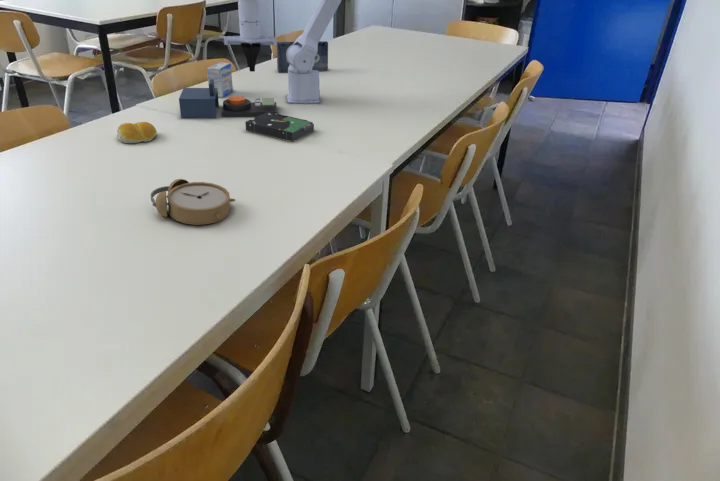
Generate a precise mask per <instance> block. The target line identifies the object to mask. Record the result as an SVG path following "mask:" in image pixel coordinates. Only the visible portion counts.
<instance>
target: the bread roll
mask: <svg viewBox="0 0 720 481" xmlns="http://www.w3.org/2000/svg"><path fill="white" fill-rule="evenodd" d="M116 132H117V134H116V137H117V139H118V140H119V141H120V142H121V143H124V144H137V143H141V142H144V143H147V142H150V141H152V140H154V138H156V136H157V134H158V132H157V129H156V127H155V126H154V125H153V124H152V123H150V122H148V121H138V122H135V123H131V122H124V123H121V124H120V125H119V126H118V128H117V131H116Z"/></svg>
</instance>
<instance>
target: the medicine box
mask: <svg viewBox="0 0 720 481" xmlns="http://www.w3.org/2000/svg"><path fill="white" fill-rule="evenodd" d="M206 73H207V83H208V85H209V82H210V79H214V87H215V88H217V90H218V98H224V97H226V96H227V95H229V94H230V93H232V92H233V91H234V86H233V75H232V74H233V73H232V64H231V63H230V62H221V61H220V62H216V63H215V64H213V65H211V66H208V67H207V68H206Z"/></svg>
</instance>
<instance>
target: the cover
mask: <svg viewBox="0 0 720 481" xmlns="http://www.w3.org/2000/svg"><path fill="white" fill-rule="evenodd" d="M178 102H179V103H178V104H179V112H180V119H217V108H219V107H220V102H219V97H218V90H217V88H215V87H214V79H210V82H209V84H208V87H183V88H182V90H181V92H180V95H179V97H178Z"/></svg>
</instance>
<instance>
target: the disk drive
mask: <svg viewBox="0 0 720 481" xmlns="http://www.w3.org/2000/svg"><path fill="white" fill-rule="evenodd" d="M314 130H315V124H314V121H310V120H308V119H302V118H298V117H295V116H294V117H293V116H288V115H285V114H280V113H277V114H276V113H271V112H266V113H264V114H262V115H260V116H257V117H254V118H253V119H248V120H246V121H245V131H247V132H249V133H254V134H258V135H262V136H265V137H271V138H275V139H279V140H282V141H287V142H295V141H298V140H300V139H301V138H303V137H305V136H307V135H309V134H311V133H313V131H314Z"/></svg>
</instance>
